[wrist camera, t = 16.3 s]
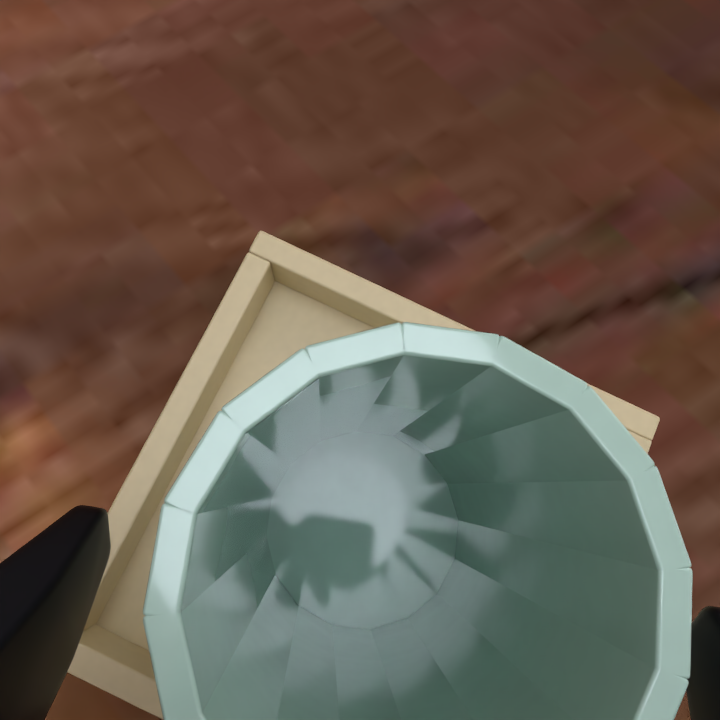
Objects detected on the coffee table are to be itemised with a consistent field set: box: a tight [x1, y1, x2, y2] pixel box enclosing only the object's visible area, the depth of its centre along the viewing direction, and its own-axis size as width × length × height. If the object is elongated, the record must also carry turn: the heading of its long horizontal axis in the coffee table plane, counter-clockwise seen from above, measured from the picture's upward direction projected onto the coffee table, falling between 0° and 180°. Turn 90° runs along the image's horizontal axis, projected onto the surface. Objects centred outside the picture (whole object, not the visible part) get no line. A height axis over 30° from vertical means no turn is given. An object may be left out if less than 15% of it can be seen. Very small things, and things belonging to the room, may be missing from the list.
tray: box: [67, 231, 660, 719], centre depth 20 cm, size 14×14×3 cm
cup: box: [143, 322, 693, 720], centre depth 14 cm, size 7×7×13 cm
